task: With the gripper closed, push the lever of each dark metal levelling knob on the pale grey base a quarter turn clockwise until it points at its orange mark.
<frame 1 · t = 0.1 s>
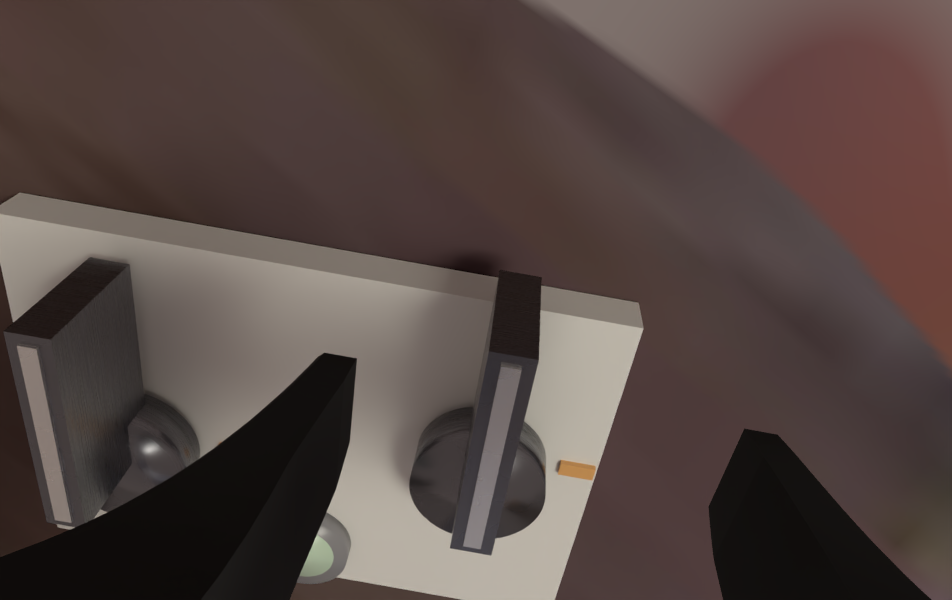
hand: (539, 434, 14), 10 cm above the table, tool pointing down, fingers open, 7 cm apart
knob 1: (488, 445, 22), point 4 cm above the table, hinge at 0.0°
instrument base: (320, 414, 27), on the table
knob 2: (96, 424, 23), point 4 cm above the table, hinge at 0.0°
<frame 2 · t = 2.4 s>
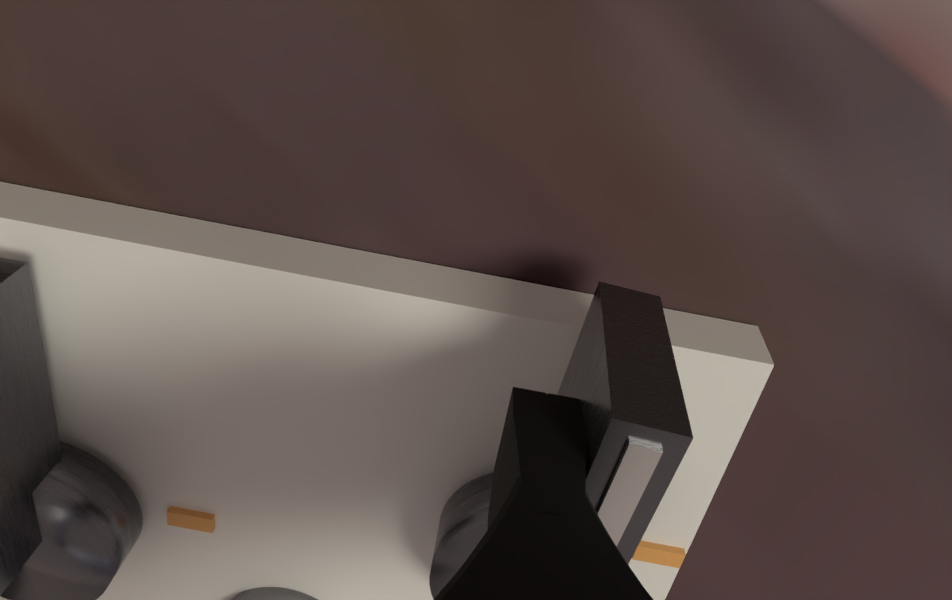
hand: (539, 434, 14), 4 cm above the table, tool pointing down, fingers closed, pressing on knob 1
knob 1: (557, 535, 15), point 4 cm above the table, hinge at -3.8°, touching gripper
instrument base: (307, 467, 20), on the table
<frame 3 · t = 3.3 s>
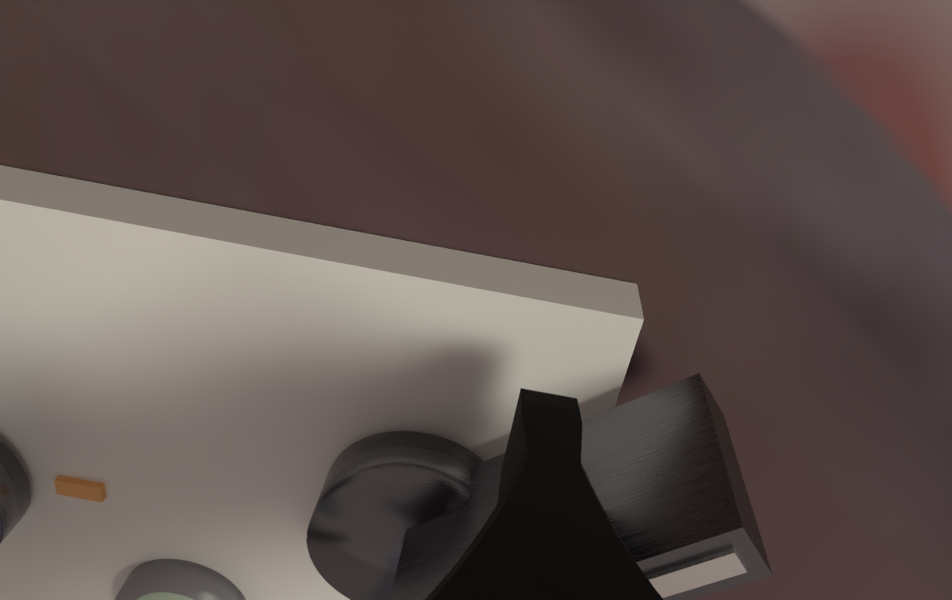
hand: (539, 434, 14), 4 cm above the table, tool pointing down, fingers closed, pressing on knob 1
knob 1: (502, 539, 15), point 4 cm above the table, hinge at -48.5°, touching gripper
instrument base: (203, 437, 20), on the table
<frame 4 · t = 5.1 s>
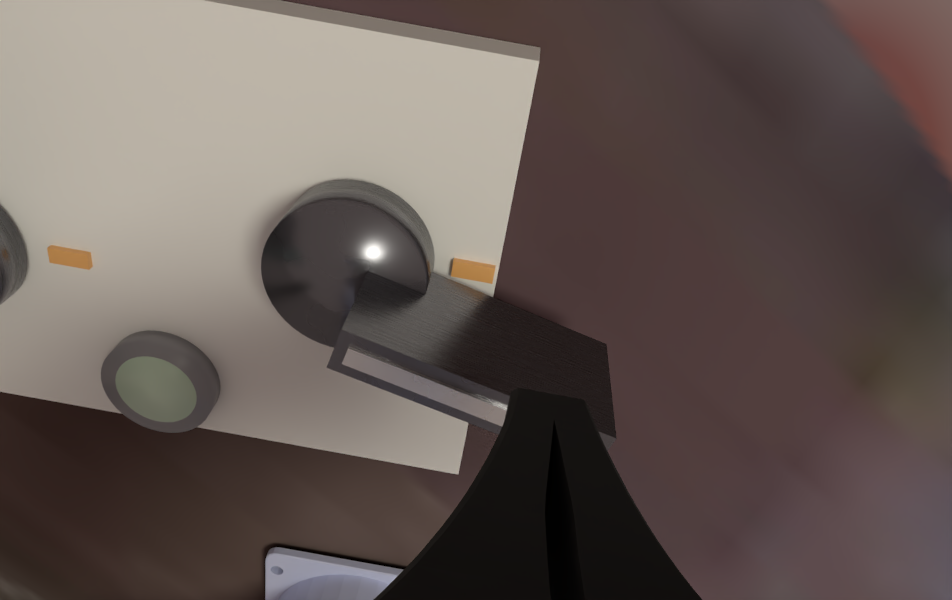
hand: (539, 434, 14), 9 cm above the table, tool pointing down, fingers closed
knob 1: (432, 332, 19), point 4 cm above the table, hinge at -104.1°
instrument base: (177, 220, 23), on the table
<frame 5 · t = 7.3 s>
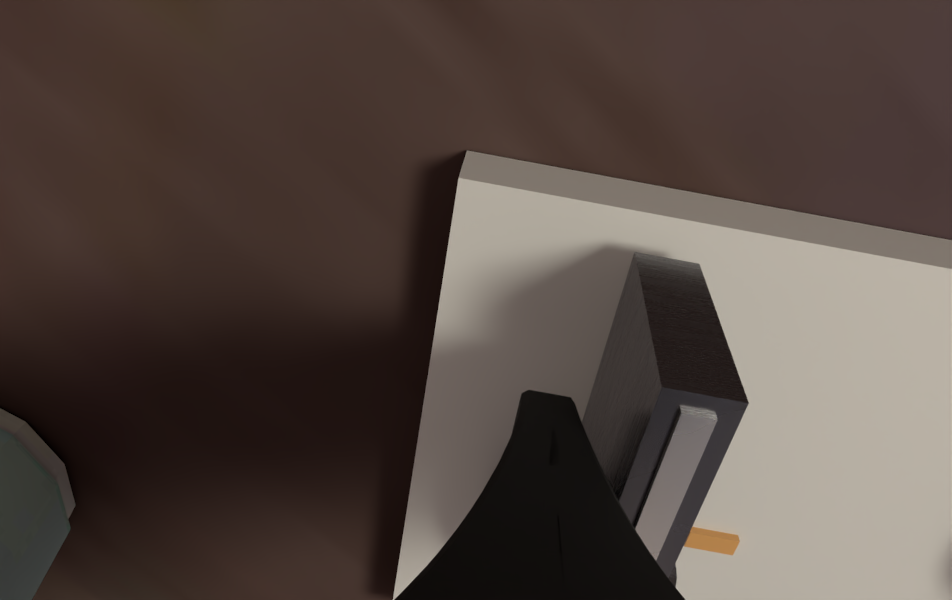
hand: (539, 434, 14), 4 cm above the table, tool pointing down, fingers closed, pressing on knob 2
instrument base: (813, 483, 19), on the table
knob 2: (606, 518, 14), point 4 cm above the table, hinge at 0.0°, touching gripper
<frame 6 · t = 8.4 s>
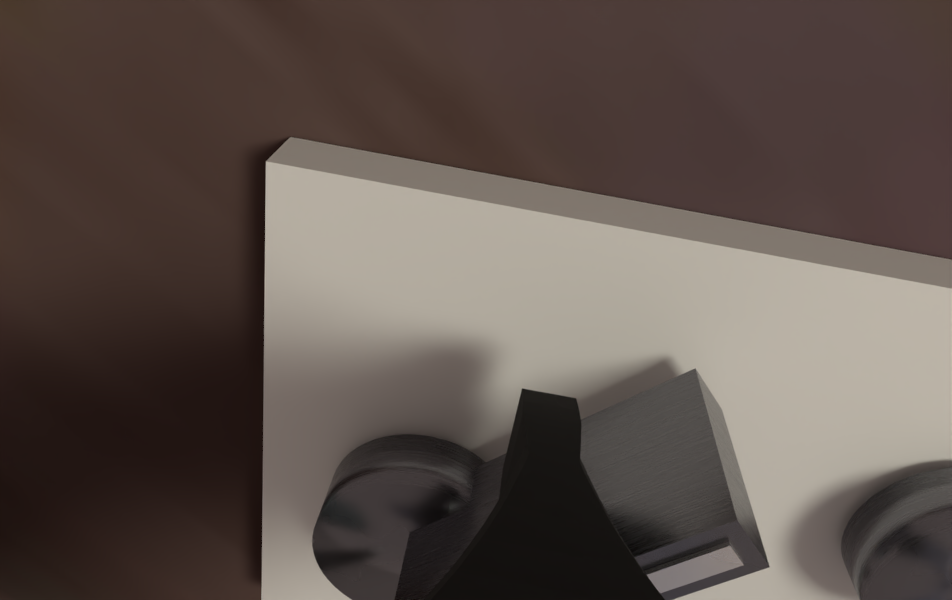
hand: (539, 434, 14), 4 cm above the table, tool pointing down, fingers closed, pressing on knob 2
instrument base: (663, 467, 19), on the table
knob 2: (504, 539, 15), point 4 cm above the table, hinge at -46.5°, touching gripper
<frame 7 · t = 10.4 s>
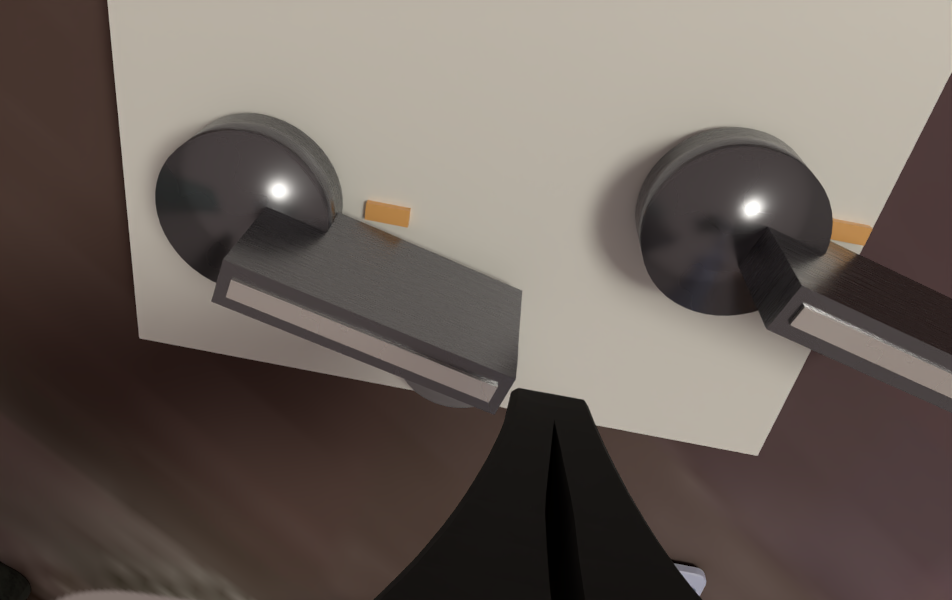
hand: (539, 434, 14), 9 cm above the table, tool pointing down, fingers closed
knob 1: (837, 295, 17), point 4 cm above the table, hinge at -104.4°
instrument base: (491, 176, 21), on the table
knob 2: (333, 271, 18), point 4 cm above the table, hinge at -104.0°
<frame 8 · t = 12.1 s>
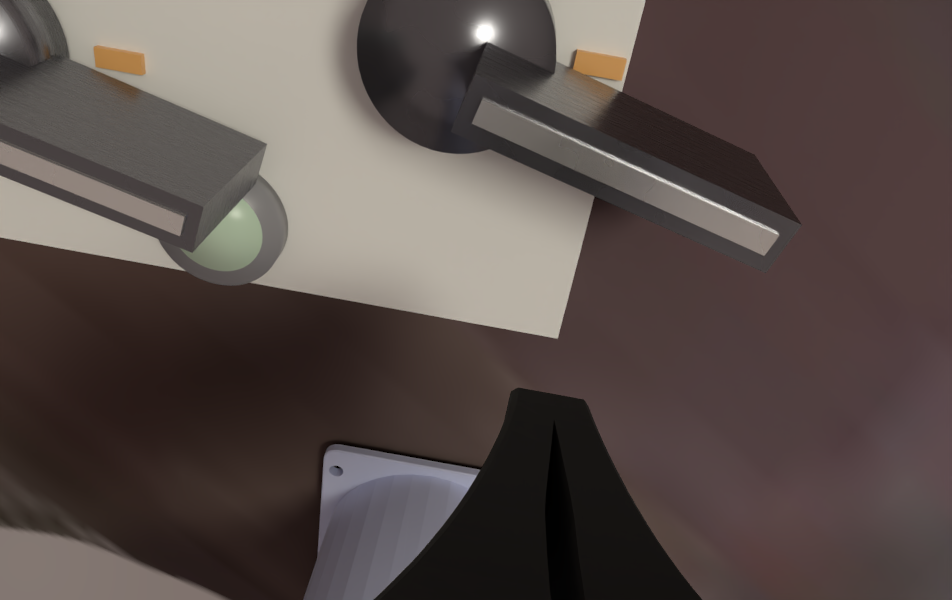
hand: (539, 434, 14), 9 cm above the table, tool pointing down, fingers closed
knob 1: (564, 116, 16), point 4 cm above the table, hinge at -104.4°
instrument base: (242, 25, 20), on the table
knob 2: (33, 107, 17), point 4 cm above the table, hinge at -104.3°
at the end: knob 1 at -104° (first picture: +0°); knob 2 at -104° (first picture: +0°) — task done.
